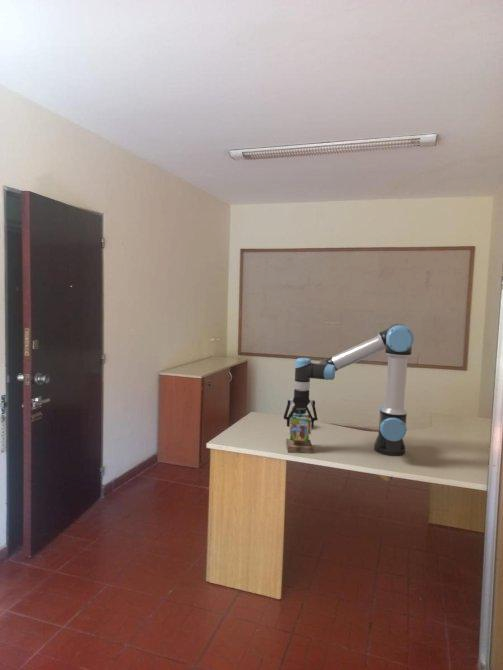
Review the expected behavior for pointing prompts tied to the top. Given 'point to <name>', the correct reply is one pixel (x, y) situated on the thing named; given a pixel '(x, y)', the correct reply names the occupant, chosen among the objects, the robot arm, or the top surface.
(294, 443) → the block
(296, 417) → the chalk box
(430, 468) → the top surface
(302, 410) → the jar
